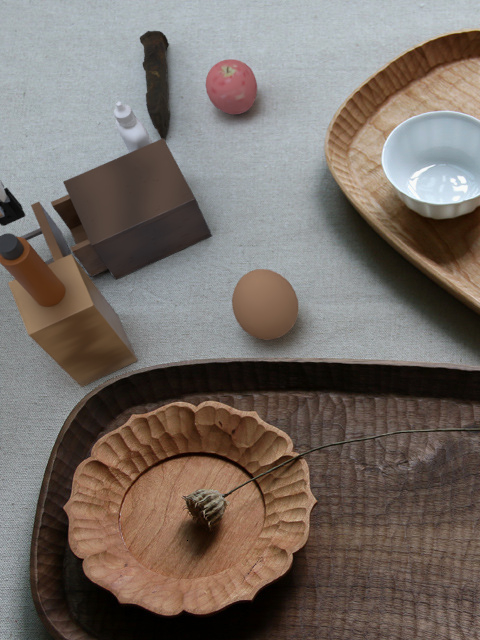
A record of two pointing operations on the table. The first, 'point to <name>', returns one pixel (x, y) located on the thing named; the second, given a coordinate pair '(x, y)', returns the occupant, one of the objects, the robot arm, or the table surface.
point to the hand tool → (156, 79)
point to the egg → (265, 304)
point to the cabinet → (137, 209)
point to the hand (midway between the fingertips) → (12, 216)
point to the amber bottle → (30, 270)
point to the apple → (231, 86)
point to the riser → (76, 326)
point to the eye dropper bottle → (130, 128)
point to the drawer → (57, 241)
